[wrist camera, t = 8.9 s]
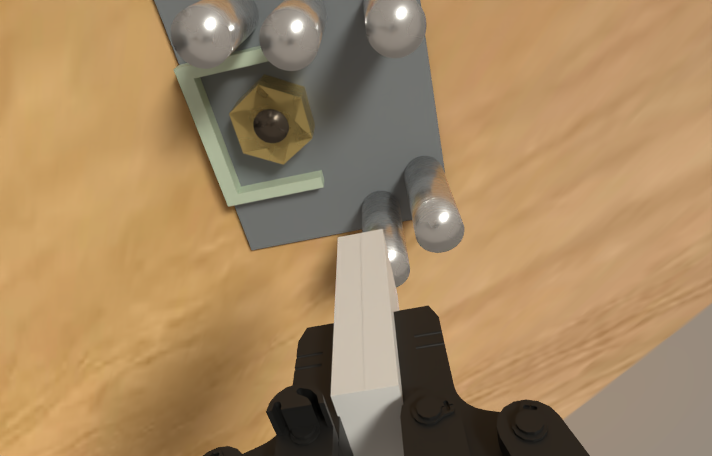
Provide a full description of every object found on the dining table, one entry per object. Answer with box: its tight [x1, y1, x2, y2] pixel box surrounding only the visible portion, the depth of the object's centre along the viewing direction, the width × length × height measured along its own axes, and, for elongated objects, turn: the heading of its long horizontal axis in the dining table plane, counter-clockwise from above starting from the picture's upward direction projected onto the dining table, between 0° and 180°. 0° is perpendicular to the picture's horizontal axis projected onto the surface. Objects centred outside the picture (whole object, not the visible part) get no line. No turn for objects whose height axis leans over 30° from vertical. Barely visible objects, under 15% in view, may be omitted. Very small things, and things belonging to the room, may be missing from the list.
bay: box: [174, 46, 324, 207], centre depth 34 cm, size 7×10×1 cm
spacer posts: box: [171, 0, 464, 287], centre depth 30 cm, size 12×18×8 cm
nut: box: [229, 74, 315, 165], centre depth 33 cm, size 5×5×3 cm
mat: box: [154, 0, 445, 250], centre depth 34 cm, size 16×20×1 cm
